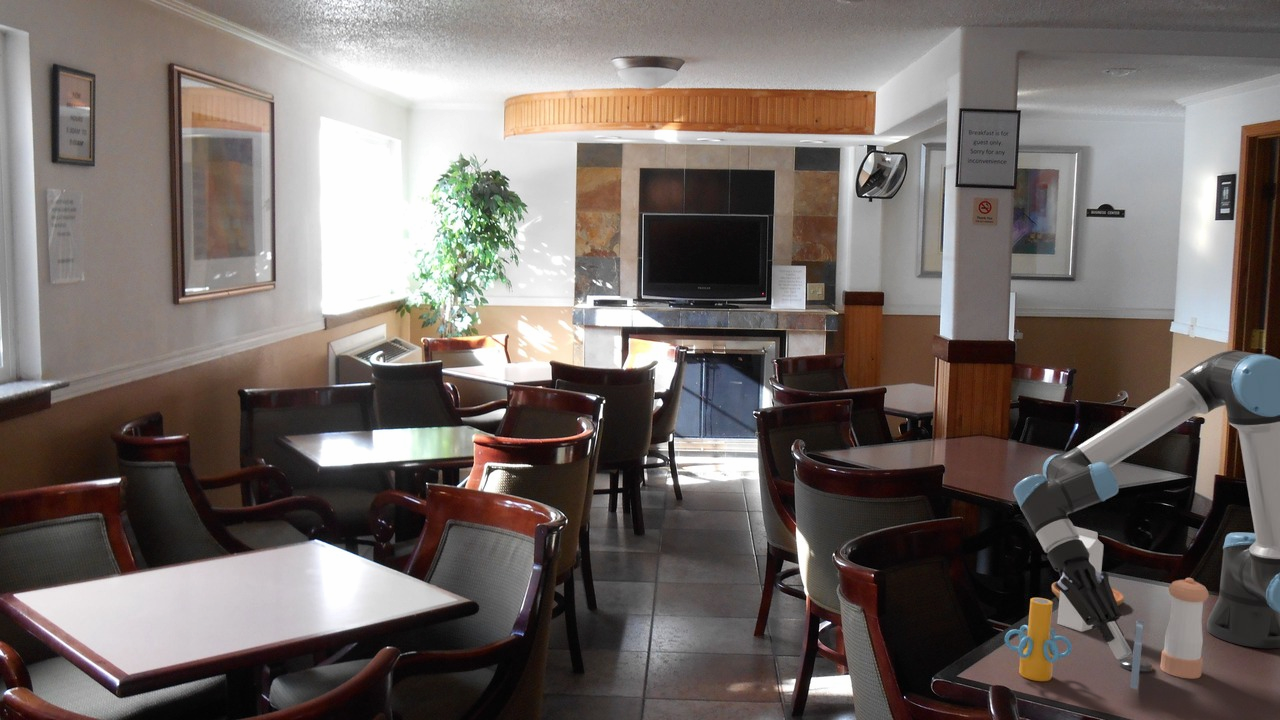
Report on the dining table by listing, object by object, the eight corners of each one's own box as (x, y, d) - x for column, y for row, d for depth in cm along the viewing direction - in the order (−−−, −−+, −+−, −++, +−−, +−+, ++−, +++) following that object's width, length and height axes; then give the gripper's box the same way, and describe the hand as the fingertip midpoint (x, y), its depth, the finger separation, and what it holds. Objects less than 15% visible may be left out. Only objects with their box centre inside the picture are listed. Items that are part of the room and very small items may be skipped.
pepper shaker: (1185, 681, 206) (1194, 585, 204) (1152, 667, 213) (1161, 574, 211) (1209, 675, 209) (1218, 581, 208) (1175, 662, 216) (1184, 571, 214)
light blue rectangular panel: (1132, 661, 211) (1136, 620, 210) (1139, 662, 211) (1143, 621, 210) (1130, 687, 198) (1134, 643, 197) (1137, 689, 197) (1142, 645, 196)
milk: (1081, 632, 231) (1090, 534, 229) (1056, 623, 236) (1064, 527, 234) (1096, 627, 235) (1105, 530, 233) (1071, 618, 240) (1080, 524, 237)
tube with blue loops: (1067, 671, 208) (1073, 597, 207) (1070, 691, 199) (1077, 614, 197) (1002, 661, 212) (1008, 588, 211) (1001, 680, 202) (1008, 604, 201)
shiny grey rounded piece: (1132, 659, 216) (1134, 642, 216) (1158, 670, 211) (1160, 652, 211) (1112, 663, 214) (1114, 646, 213) (1138, 674, 208) (1140, 657, 208)
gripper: (1074, 552, 221) (1134, 659, 208) (1028, 558, 215) (1087, 668, 202) (1098, 534, 215) (1161, 643, 203) (1051, 540, 209) (1114, 652, 197)
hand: (1124, 655), depth 202 cm, fingers closed
